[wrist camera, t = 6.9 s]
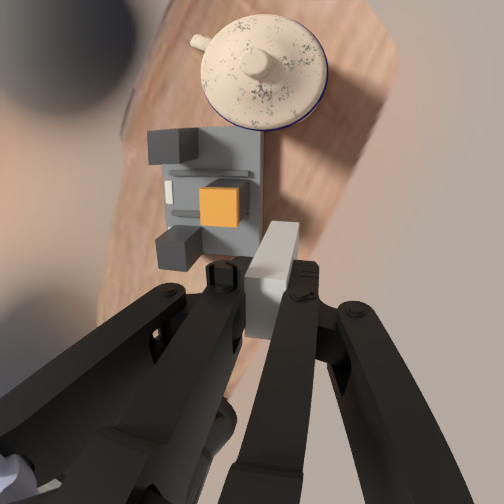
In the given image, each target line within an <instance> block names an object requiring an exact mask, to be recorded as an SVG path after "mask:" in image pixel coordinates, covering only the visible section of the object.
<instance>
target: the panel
mask: <svg viewBox="0 0 504 504" xmlns="http://www.w3.org/2000/svg"><path fill="white" fill-rule="evenodd" d="M147 138H148V160H149V165H161V164H162V167H163V185H164V199H165V212H166V224H167V231H166V232H165V233H163V234H162V235H161V236H159V237H158V238H157V239H156V240H155V243H156V251H157V259H158V267H159V269H165V270H173V271H182V272H187V271H188V270H189V269H190V268H191V267H192V265H193V264H194V263H195V262H196V261H197V260H198V258H199V257H200V256H201V255H202V254H203V253H205V254H216V255H228V256H248V257H254V256H255V254H256V252H257V250H258V248H259V246H260V244H261V242H262V240H263V175H264V131H253V130H248V129H244V128H241V127H238V126H228V127H197V128H178V129H165V130H155V131H147ZM219 178H221V179H250V210H249V211H248V213H247V214H246V215H245V216H244V218H243V219H242V220H241V222H240V223H239V226H238V227H237V228H234V227H218V226H202V225H201V222H200V201H199V189H200V188H201V187H205V186H207V185H208V184H210V183H212V182H213V181H215V180H217V179H219Z"/></svg>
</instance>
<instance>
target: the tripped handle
mask: <svg viewBox="0 0 504 504" xmlns="http://www.w3.org/2000/svg"><path fill="white" fill-rule="evenodd" d="M199 201H200V222H201V225H202V226H218V227H234V228H237V227H238V226H239V223H240V222H241V220H242V219H243V218H244V216H245V215H246V214H247V213H248V211H249V210H250V179H221V178H219V179H217V180H215V181H213V182H212V183H210V184H208V185H207V186H205V187H201V188H200V189H199Z"/></svg>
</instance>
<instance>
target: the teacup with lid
mask: <svg viewBox="0 0 504 504" xmlns="http://www.w3.org/2000/svg"><path fill="white" fill-rule="evenodd" d="M190 44H191V46H192V47H194V48H196V49H197V50H199V51H201V52H203V53H204V56H203V60H202V64H201V82H202V87H203V90H204V93H205V95H206V98H207V100H208V101H209V103H210V105H211V106H212V107H213V109H214V110H215V111H216V112H217V113H218V114H219V115H220V116H221V117H223V118H224V119H225V120H227V121H228V122H230V123H232V124H234V125H236V126H238V127H241V128H244V129H248V130H253V131H274V130H279V129H283V128H286V127H289V126H292V125H295V124H297V123H299V122H301V121H303V120H304V119H306V118H307V117H308V116H309V115H311V113H312V112H313V111H314V110H315V109H316V107H317V105H318V104H319V102H320V100H321V98H322V97H323V94H324V92H325V89H326V86H327V81H328V63H327V58H326V55H325V52H324V50H323V48H322V46H321V44H320V43H319V41H318V40H317V38H316V37H315V36H314V35H313V34H312V33H311V32H310V31H309V30H308V29H307V28H305V27H304V26H303V25H301V24H299V23H298V22H296V21H294V20H291V19H289V18H286V17H282V16H278V15H270V14H259V15H252V16H247V17H244V18H241V19H239V20H236V21H234V22H232V23H230V24H229V25H227V26H226V27H224V28H223V29H222V30H221V31H220V32H219V33H218V34H217V35H216V36H215V37H214V38H213V39H212V38H209V37H207V36H204V35H200V34H196V35H195V36H194V37H193V38H192V40H191V42H190Z"/></svg>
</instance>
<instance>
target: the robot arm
mask: <svg viewBox="0 0 504 504" xmlns="http://www.w3.org/2000/svg"><path fill="white" fill-rule="evenodd" d="M298 238H299V223H298V222H284V221H271V223H270V225H269V227H268V229H267V231H266V233H265V236H264V238H263V240H262V242H261V244H260V246H259V248H258V250H257V252H256V254H255V256H254V257H248V256H238V257H236V258H235V259H233V260H232V261H215V262H212V263H210V264H208V265H207V266H206V279H207V287H206V288H205V290H204V291H203V293H198V294H186V291H185V288H184V287H183V286H182V285H180V284H177V283H165V284H161V285H159V286H157V287H155V288H153V289H152V290H150V291H149V292H148V293H146V294H145V295H143V296H142V297H140V298H139V299H137V300H136V301H135V302H133V303H132V304H130V305H129V306H127V307H126V308H124V309H123V310H122V311H120V312H119V313H117V314H116V315H114V316H113V317H112V318H110V319H109V320H107V321H106V322H105V323H103V324H102V325H100V326H99V327H97V328H96V329H95V330H93V331H92V332H90V333H89V334H88V335H86V336H85V337H84V338H82V339H81V340H79V341H78V342H76V343H75V344H74V345H72V346H71V347H69V348H68V349H67V350H65V351H64V352H62V353H61V354H60V355H58V356H57V357H56V358H54V359H53V360H52V361H50V362H49V363H47V364H46V365H45V366H43V367H42V368H41V369H39V370H38V371H36V372H35V373H34V374H33V375H31V376H30V377H28V378H27V379H26V380H25V381H23V382H22V383H20V384H19V385H18V386H16V387H15V388H14V389H12V390H11V391H10V392H9V393H7V394H6V395H4V396H3V397H2V398H0V504H197V503H198V500H199V497H200V494H201V491H202V489H203V486H204V483H205V480H206V477H207V474H208V472H209V469H210V466H211V463H212V460H213V458H214V456H215V455H216V454H217V453H218V452H219V450H220V449H221V448H222V447H223V446H224V444H225V443H226V442H227V441H228V440H229V439H230V437H231V436H232V435H233V433H234V430H235V426H236V423H237V416H236V413H235V411H234V409H233V407H232V406H231V405H230V404H229V403H228V402H227V401H226V400H225V399H224V398H223V395H224V392H225V389H226V387H227V384H228V381H229V379H230V376H231V373H232V371H233V368H234V365H235V362H236V360H237V357H238V354H239V352H240V349H241V346H242V333H243V330H244V328H245V337H252V338H260V339H268V340H271V342H270V346H269V350H268V353H267V357H266V361H265V364H264V368H263V372H262V375H261V379H260V383H259V387H258V390H257V394H256V397H255V401H254V404H253V408H252V411H251V415H250V418H249V422H248V425H247V429H246V432H245V435H244V439H243V442H242V445H241V449H240V452H239V455H238V458H237V460H236V462H234V463H233V464H232V465H231V467H230V469H229V472H228V475H227V477H226V480H225V483H224V486H223V489H222V492H221V495H220V498H219V501H218V504H299V503H300V497H301V490H302V483H303V464H304V457H305V450H306V442H307V434H308V426H309V417H310V408H311V399H312V389H313V377H314V366H315V359H317V360H320V361H323V362H326V363H327V369H328V372H329V376H330V379H331V382H332V385H333V389H334V392H335V396H336V399H337V402H338V406H339V409H340V413H341V416H342V419H343V423H344V426H345V430H346V433H347V437H348V441H349V444H350V448H351V451H352V455H353V459H354V462H355V466H356V470H357V473H358V477H359V481H360V485H361V489H362V492H363V496H364V500H365V504H474V503H473V499H472V497H471V495H470V492H469V490H468V488H467V485H466V483H465V481H464V478H463V476H462V474H461V472H460V469H459V467H458V465H457V463H456V461H455V459H454V456H453V454H452V452H451V450H450V448H449V446H448V444H447V442H446V440H445V438H444V436H443V434H442V432H441V430H440V427H439V426H438V424H437V422H436V420H435V418H434V416H433V414H432V412H431V410H430V408H429V406H428V404H427V402H426V401H425V399H424V397H423V395H422V393H421V391H420V389H419V387H418V385H417V384H416V382H415V380H414V378H413V376H412V374H411V373H410V371H409V369H408V367H407V366H406V364H405V362H404V360H403V358H402V357H401V355H400V353H399V352H398V350H397V348H396V346H395V345H394V343H393V341H392V340H391V338H390V336H389V334H388V333H387V331H386V329H385V328H384V326H383V324H382V323H381V321H380V319H379V318H378V316H377V315H376V313H375V311H374V310H373V309H372V308H371V307H370V306H369V305H367V304H365V303H363V302H360V301H347V302H344V303H342V304H340V305H339V307H338V309H336V308H333V307H330V306H328V305H326V304H324V303H323V302H322V301H321V300H320V299H319V296H318V288H319V287H318V286H319V266H318V265H317V263H316V262H314V261H303V260H297V254H298ZM157 329H158V333H159V335H158V336H157V337H156V338H153V334H152V333H153V332H154V331H155V330H157Z"/></svg>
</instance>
